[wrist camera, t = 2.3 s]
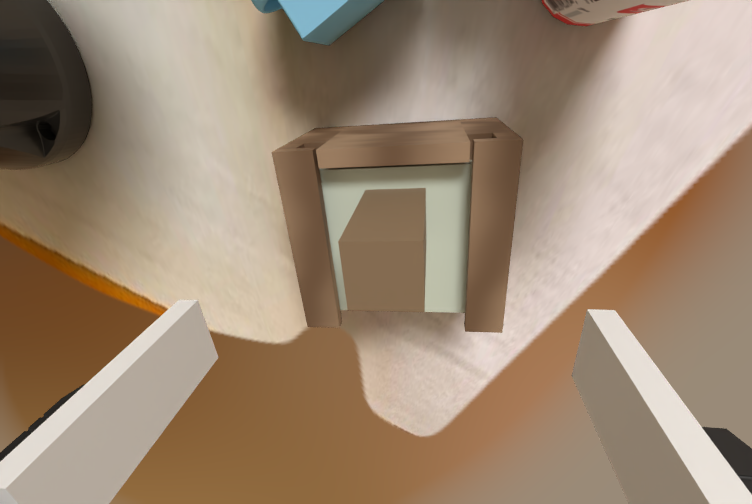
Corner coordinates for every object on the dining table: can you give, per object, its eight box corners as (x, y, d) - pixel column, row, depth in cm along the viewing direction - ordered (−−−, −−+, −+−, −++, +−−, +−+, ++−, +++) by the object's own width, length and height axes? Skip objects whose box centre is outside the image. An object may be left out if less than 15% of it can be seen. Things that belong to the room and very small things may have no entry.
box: (335, 267, 32) (307, 326, 25) (314, 128, 27) (271, 151, 19) (485, 268, 30) (501, 332, 23) (496, 117, 25) (523, 139, 17)
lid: (333, 301, 26) (297, 387, 19) (312, 166, 22) (255, 215, 15) (476, 304, 25) (494, 399, 18) (485, 159, 20) (514, 209, 13)
